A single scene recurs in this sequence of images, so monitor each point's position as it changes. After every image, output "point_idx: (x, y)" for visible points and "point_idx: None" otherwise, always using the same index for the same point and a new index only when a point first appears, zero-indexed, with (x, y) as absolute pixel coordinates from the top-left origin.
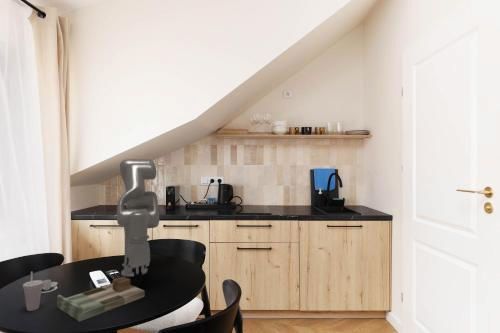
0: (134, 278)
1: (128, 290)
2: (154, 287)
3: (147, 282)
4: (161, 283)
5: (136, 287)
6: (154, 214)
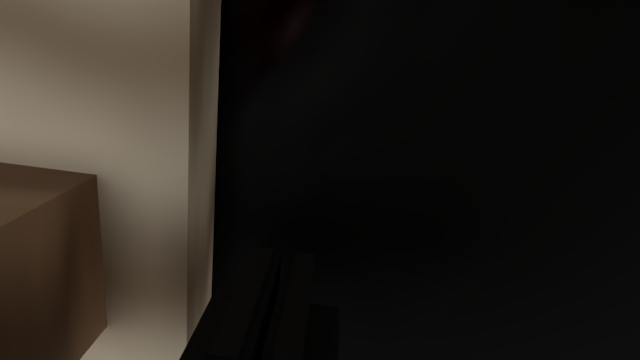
0: (204, 319)
1: None
2: (435, 351)
3: (538, 166)
4: (576, 338)
5: None
6: None
